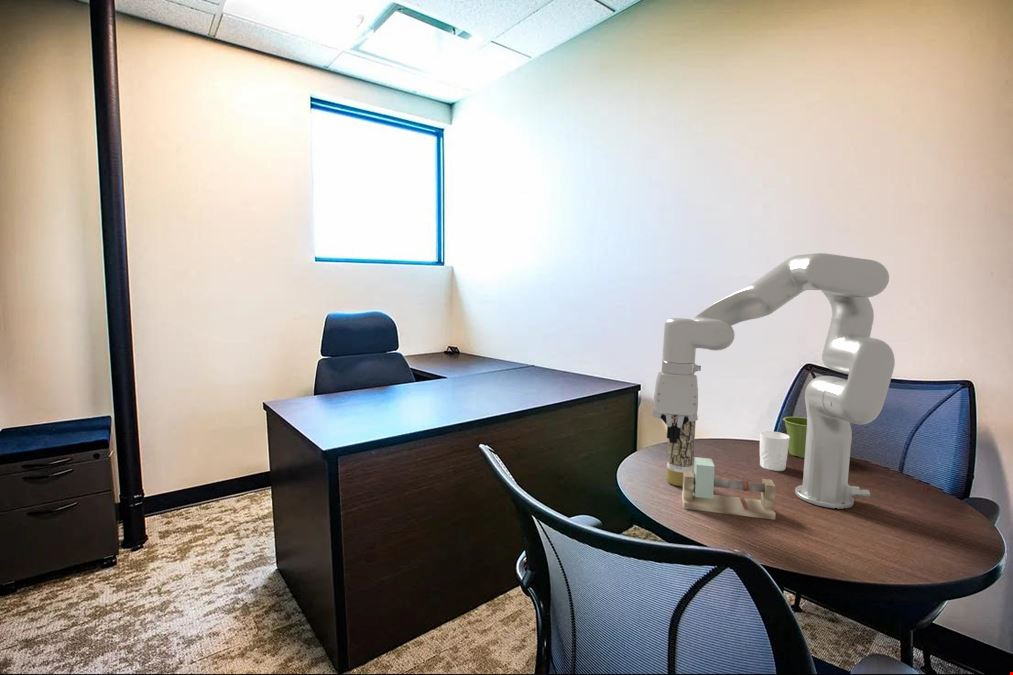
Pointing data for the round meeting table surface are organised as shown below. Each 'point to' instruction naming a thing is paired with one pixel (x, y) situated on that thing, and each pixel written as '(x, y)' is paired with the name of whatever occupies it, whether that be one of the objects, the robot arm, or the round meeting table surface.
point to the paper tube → (681, 453)
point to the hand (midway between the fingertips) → (672, 441)
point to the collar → (703, 477)
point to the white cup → (773, 450)
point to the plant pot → (796, 435)
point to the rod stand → (732, 498)
